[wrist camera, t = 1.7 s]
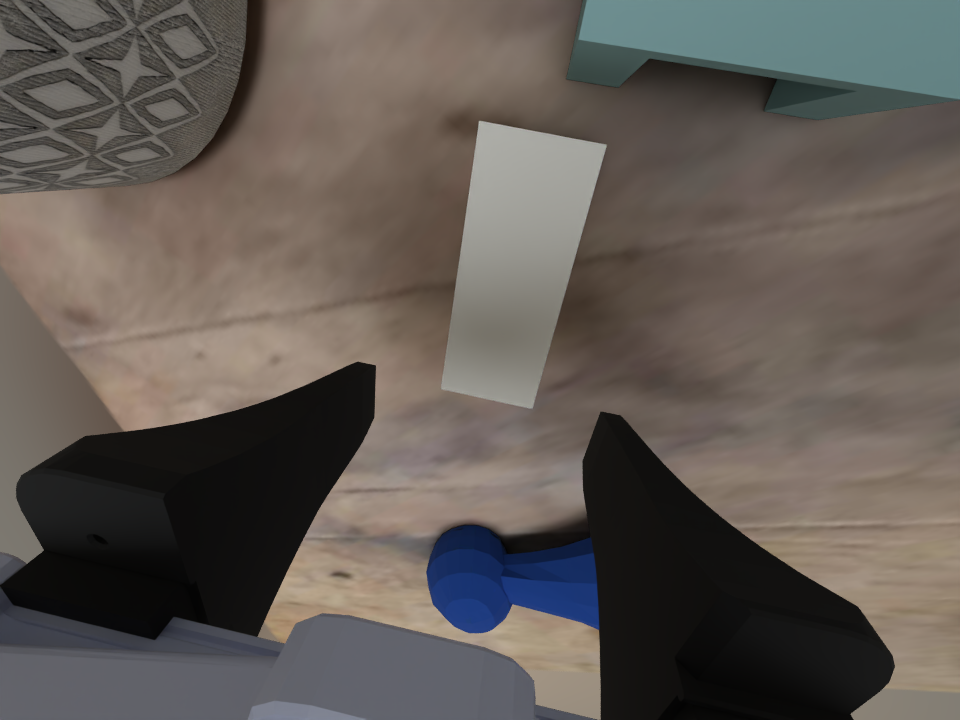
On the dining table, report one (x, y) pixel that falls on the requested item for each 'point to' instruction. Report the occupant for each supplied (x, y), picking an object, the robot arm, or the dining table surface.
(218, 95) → the planter
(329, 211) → the dining table surface
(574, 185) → the peg
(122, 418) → the dining table surface
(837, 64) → the block
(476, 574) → the toy
